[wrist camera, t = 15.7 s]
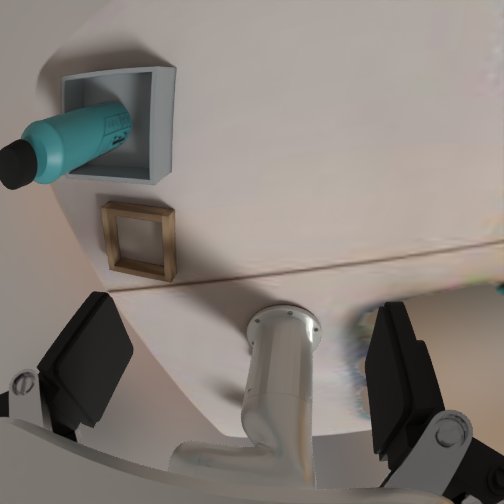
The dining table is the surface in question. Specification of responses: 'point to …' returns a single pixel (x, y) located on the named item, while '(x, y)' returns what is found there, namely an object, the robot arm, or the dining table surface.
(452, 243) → the dining table surface
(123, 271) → the collar
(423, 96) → the dining table surface
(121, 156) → the bin
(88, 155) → the beverage bottle
